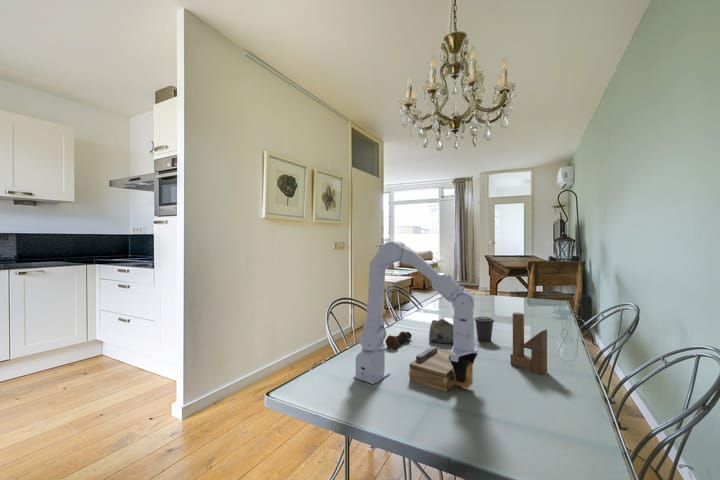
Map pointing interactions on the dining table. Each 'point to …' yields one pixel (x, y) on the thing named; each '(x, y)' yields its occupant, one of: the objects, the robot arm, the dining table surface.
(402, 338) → the bolt
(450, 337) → the mineral rock
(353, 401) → the dining table surface
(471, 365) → the brown block
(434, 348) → the lid
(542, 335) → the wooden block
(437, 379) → the brown wooden open box
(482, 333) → the coffee cup
